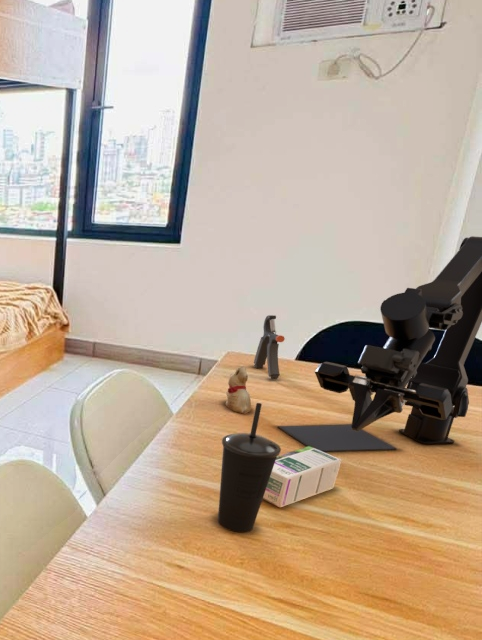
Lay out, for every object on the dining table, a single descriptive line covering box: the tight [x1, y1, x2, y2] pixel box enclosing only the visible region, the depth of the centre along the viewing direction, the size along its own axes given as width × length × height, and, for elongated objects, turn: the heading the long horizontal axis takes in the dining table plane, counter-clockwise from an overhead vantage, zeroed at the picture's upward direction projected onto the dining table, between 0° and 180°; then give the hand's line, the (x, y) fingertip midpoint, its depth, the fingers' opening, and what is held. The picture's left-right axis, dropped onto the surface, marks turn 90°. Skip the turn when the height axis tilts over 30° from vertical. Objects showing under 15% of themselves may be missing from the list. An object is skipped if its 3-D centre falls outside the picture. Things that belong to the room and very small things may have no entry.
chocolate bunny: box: [225, 365, 252, 415], centre depth 141 cm, size 6×8×10 cm
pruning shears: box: [253, 314, 285, 380], centre depth 162 cm, size 2×12×15 cm, turn 171°
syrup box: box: [262, 446, 342, 508], centre depth 105 cm, size 6×6×14 cm
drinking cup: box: [217, 402, 282, 533], centre depth 94 cm, size 8×8×20 cm
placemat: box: [277, 423, 397, 453], centre depth 126 cm, size 16×12×1 cm
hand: (354, 429), depth 105 cm, fingers closed
